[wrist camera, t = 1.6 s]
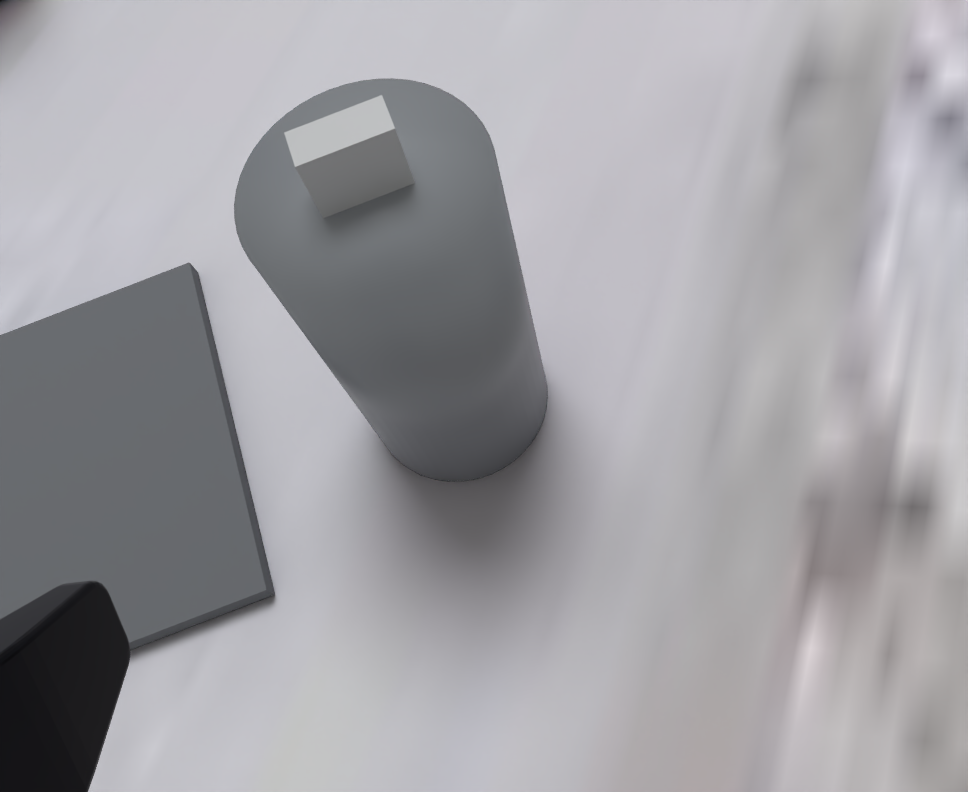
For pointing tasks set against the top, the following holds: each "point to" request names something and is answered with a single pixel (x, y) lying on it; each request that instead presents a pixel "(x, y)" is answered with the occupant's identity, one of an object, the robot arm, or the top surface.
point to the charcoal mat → (126, 462)
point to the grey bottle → (401, 269)
